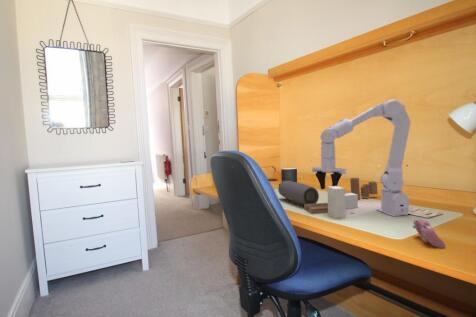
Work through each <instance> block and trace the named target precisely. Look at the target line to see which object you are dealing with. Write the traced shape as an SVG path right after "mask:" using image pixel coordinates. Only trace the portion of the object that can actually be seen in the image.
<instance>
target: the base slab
mask: <svg viewBox="0 0 476 317" xmlns="http://www.w3.org/2000/svg"><path fill="white" fill-rule="evenodd" d="M303 207H304V210H305V211H306V212H308V213H310V214H311V215H315V214H317V215H318V214H328V202H321V203H318V202H317V203H316V204H305V205H303Z"/></svg>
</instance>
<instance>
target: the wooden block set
mask: <svg viewBox="0 0 476 317" xmlns="http://www.w3.org/2000/svg"><path fill="white" fill-rule="evenodd" d="M349 181H350V182H349V183H350V193H354V194H357V195H358V200H360V199H361V197H362V198H369V197H370V195H378V182H377V181H368V183H364V184H362V185H360V178H359V177H351V178H350V180H349Z"/></svg>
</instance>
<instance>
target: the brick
mask: <svg viewBox="0 0 476 317" xmlns="http://www.w3.org/2000/svg"><path fill="white" fill-rule="evenodd" d="M354 207H357V208H358V207H359V199H358V195H357V194H354V193H351V192H348V193H346V192H345V210H347V208H348V209H354Z"/></svg>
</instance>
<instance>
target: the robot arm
mask: <svg viewBox="0 0 476 317" xmlns="http://www.w3.org/2000/svg"><path fill="white" fill-rule="evenodd" d="M406 110H407V109H406V106H405V104H403V102H401V101H400V100H398V99H395V98H394V99H389V100H387V101H386V102H383V103H379V104H377V105H375V106H374V105H373V106H372V107H371V108H368V109H367V110H365V111H363V112H362V113H360V114H358V115H356V116H355V117H353V118H351V119H348V118H344V119H343V118H341V119H339V122H337V123H335V124H333V125H329V126H328V128H325V129H324V130H323V131H322V132H321V133H320V141H321V142H320V144H321V147H320V162H321V163H320V166H319V167H318V166H313V167H311V171H312V173H315V177H316V178H317V180H318V182H319V186H320V190H326V177H327V174H330V173H331V174H330V178H331V186H339V185H338V184H339V181H340V179H341V178H342V176H343V175H346V174H347V168H341V167H340V168H338V167H336V145H335V140H336V139H341V138H342V137H344V136H346V135H347V134H349V133H351V132H353V130H354V127H355V126H357V125H360V124H361V123H363V122H365V121H367V120H369V119H371V118H376V117H378V118H379V117H383V118H384V119H387V120H389V122H390V123H391V124H392V125H393V126H394V127H393V133H392V139H391V144H390V149H389V155H388V159H387V163H386V166H385V168H384V171H383V173H382V175H381V176H380V183H381V185H382V187H381V188H380V193H381V194H380V195H381V196H380V199H381V203H380V205H381V206H380V208H375V210H376V211H378V212H380V213H384V214H386V215H389V216H391V217H396V216H397V217H398V216H409V215H408V214H410V215H411V212H410V211H409V210H410V208H409V204H410V202H409V201H410V198H409V196H408V195H407V194H406V193H404V191H403V186H404V180H403V162H404V157H405V152H406V148H407V143H408V142H407V141H408V137H409V132H410V129H411V128H410V127H411V119H410V116H409V115H408V113H407V111H406Z"/></svg>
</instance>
